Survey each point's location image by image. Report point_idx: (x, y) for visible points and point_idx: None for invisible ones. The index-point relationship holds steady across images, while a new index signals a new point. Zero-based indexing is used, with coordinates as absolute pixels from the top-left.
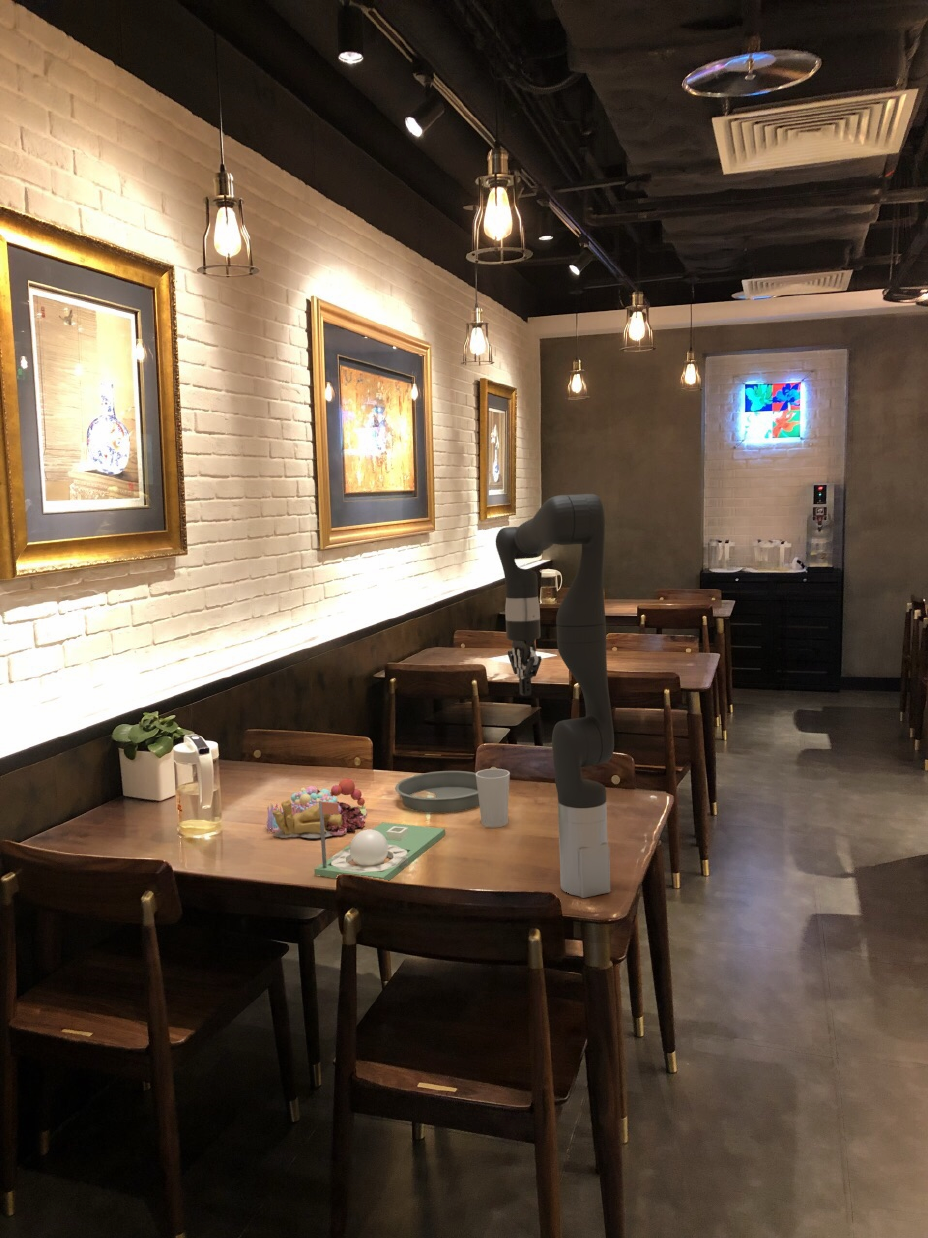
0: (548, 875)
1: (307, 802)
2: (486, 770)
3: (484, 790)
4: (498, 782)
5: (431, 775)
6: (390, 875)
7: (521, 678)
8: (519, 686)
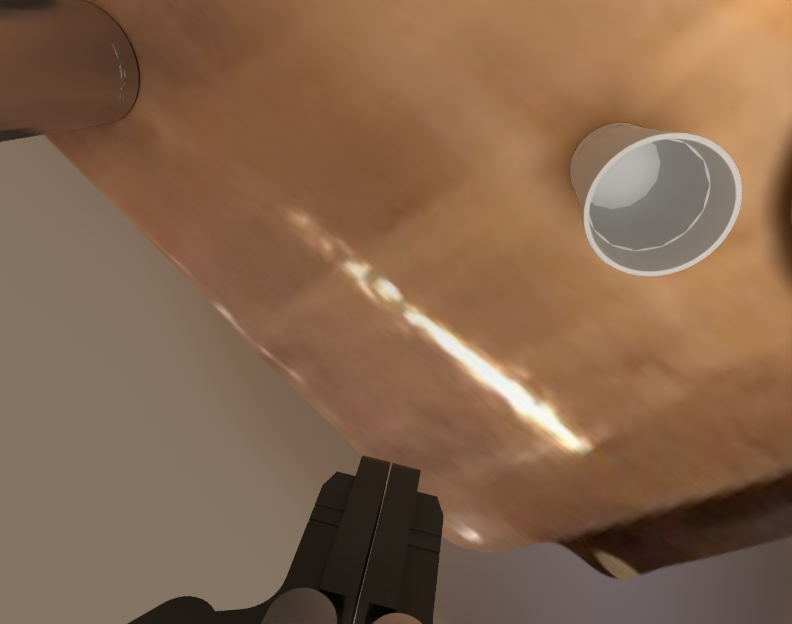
0: (187, 37)
1: None
2: (727, 221)
3: (630, 135)
4: (587, 184)
5: None
6: None
7: (313, 600)
8: (410, 528)
